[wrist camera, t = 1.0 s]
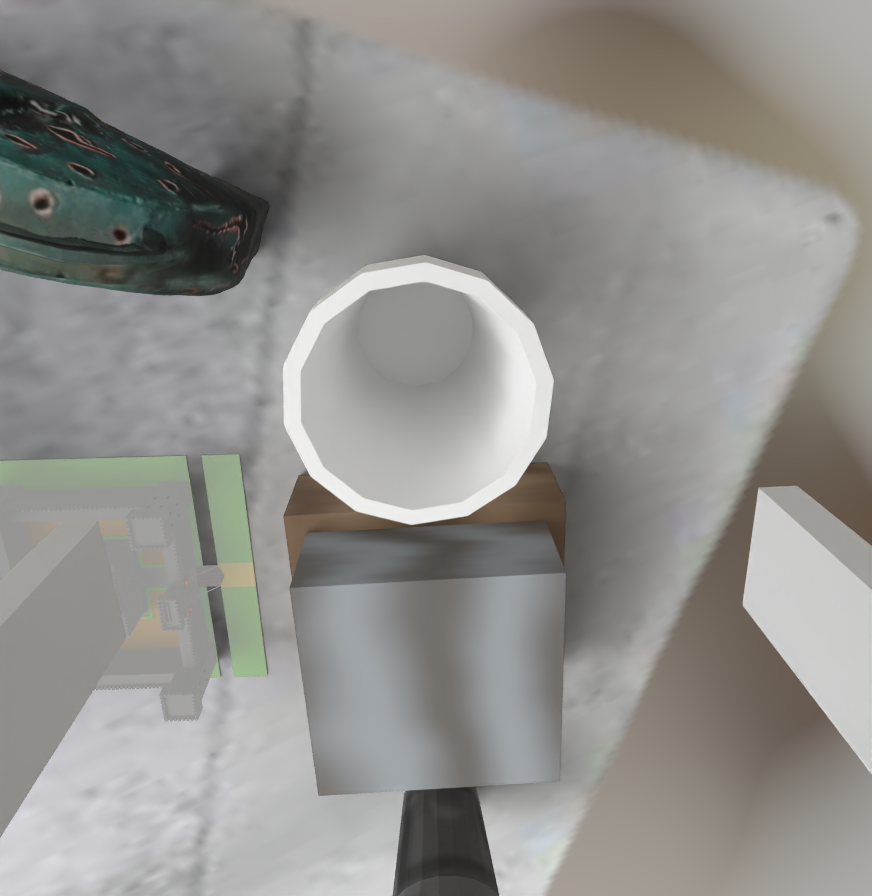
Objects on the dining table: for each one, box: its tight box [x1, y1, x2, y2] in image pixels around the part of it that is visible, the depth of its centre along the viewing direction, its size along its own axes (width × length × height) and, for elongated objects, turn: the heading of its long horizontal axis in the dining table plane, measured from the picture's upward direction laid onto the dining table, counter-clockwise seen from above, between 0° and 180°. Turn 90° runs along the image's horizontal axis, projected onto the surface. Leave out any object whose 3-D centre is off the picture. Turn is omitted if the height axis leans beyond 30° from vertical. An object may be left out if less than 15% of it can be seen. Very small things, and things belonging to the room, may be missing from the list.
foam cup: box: [283, 255, 554, 525], centre depth 30 cm, size 10×9×13 cm
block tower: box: [284, 463, 566, 796], centre depth 37 cm, size 14×14×10 cm
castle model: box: [0, 454, 267, 721], centre depth 38 cm, size 15×15×8 cm
